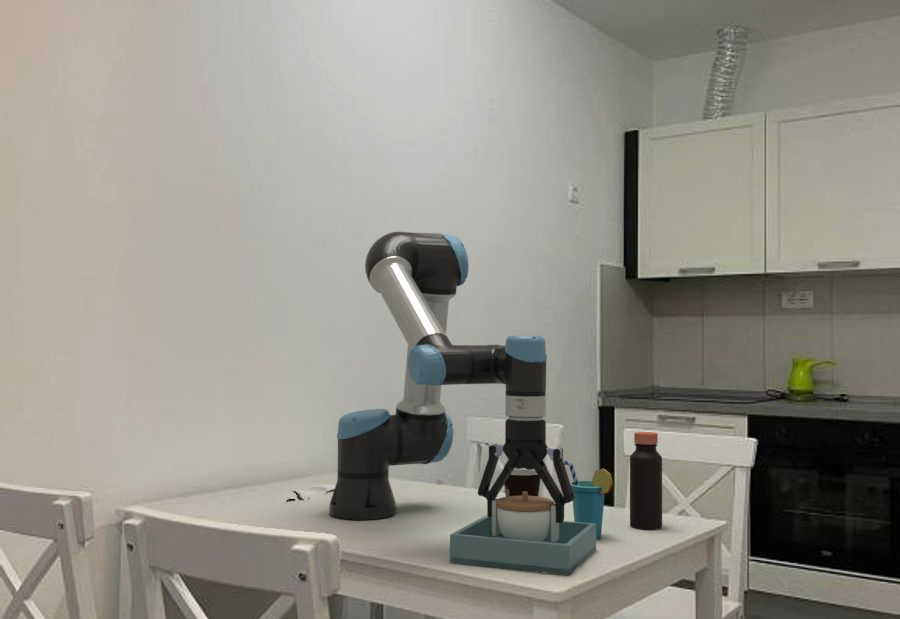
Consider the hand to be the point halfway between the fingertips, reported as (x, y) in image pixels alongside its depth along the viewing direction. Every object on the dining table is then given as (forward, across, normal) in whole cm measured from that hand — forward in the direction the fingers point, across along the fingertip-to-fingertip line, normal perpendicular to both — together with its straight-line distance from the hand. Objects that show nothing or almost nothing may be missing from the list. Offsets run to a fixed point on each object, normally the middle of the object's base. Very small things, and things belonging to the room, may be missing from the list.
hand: (525, 537), depth 168 cm
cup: (+4, +6, +21) cm, 22 cm away
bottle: (+4, +16, +35) cm, 39 cm away
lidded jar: (+1, 0, 0) cm, 1 cm away
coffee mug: (+4, -12, +36) cm, 38 cm away
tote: (+3, 0, 0) cm, 3 cm away
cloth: (+4, -71, +41) cm, 82 cm away
